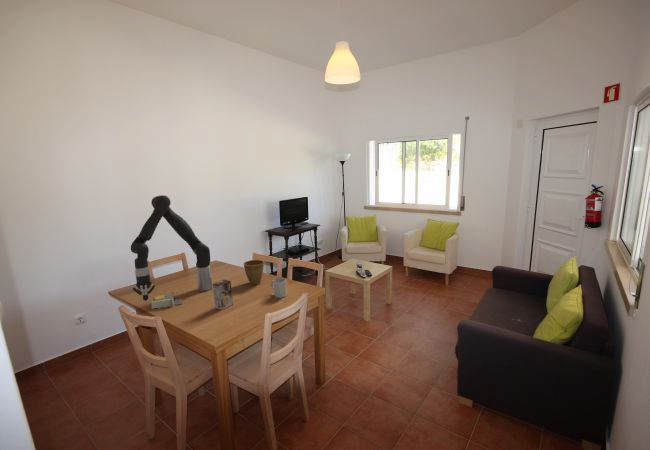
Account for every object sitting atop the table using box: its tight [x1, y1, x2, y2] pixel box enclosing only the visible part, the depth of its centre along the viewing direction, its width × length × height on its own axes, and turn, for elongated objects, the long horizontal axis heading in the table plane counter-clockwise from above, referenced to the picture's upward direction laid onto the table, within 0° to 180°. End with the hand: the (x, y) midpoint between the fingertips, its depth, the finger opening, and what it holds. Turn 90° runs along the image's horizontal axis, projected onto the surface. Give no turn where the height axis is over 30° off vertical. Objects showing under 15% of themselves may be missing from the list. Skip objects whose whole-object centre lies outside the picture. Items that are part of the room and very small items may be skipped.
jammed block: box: [154, 294, 165, 301], centre depth 202 cm, size 5×5×5 cm
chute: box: [150, 291, 183, 310], centre depth 204 cm, size 17×13×5 cm
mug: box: [271, 277, 288, 299], centre depth 214 cm, size 12×8×11 cm
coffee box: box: [212, 279, 234, 311], centre depth 197 cm, size 9×6×16 cm
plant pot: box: [243, 259, 265, 286], centre depth 236 cm, size 15×15×16 cm
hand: (145, 300), depth 199 cm, fingers closed
